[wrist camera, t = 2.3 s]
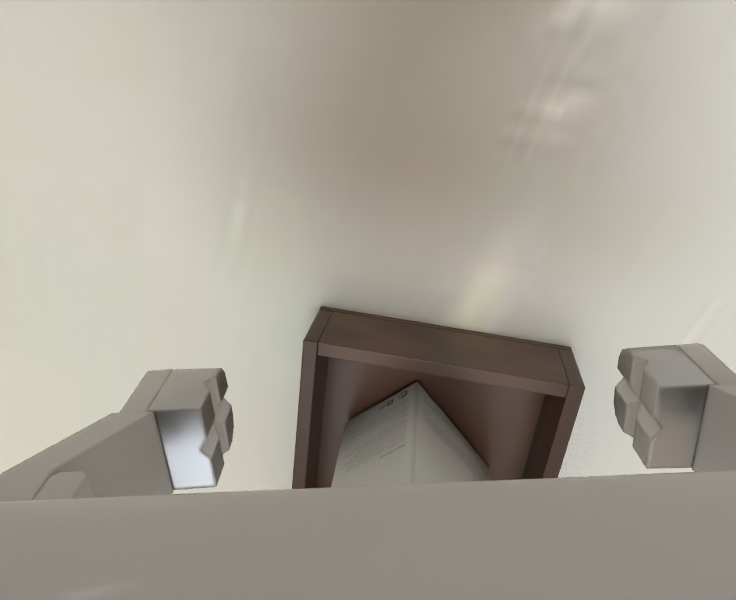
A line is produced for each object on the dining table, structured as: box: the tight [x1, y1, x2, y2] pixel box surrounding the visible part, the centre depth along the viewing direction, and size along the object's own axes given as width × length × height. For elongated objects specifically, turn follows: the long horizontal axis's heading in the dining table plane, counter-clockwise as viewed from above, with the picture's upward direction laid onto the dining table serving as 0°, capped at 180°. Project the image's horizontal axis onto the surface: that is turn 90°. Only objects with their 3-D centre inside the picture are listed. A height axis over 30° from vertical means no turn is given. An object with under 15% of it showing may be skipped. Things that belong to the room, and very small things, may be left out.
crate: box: [292, 307, 585, 489], centre depth 36 cm, size 15×17×4 cm
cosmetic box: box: [331, 382, 490, 487], centre depth 31 cm, size 8×6×15 cm
